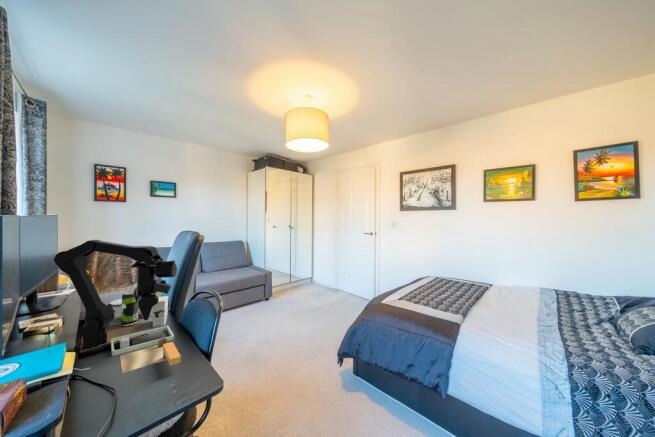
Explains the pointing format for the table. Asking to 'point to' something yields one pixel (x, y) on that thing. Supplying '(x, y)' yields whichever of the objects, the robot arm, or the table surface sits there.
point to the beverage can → (129, 308)
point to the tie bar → (171, 353)
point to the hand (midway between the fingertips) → (144, 316)
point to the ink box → (160, 312)
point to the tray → (142, 343)
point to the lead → (139, 339)
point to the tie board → (143, 357)
